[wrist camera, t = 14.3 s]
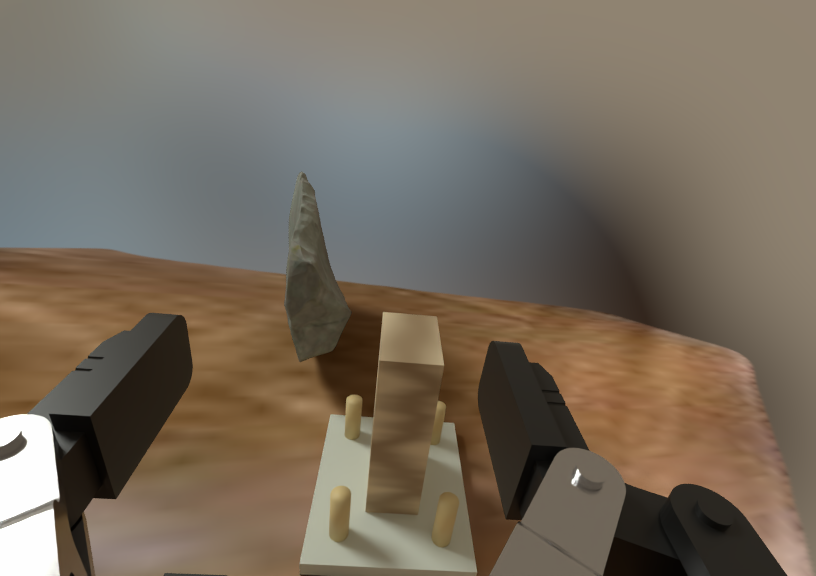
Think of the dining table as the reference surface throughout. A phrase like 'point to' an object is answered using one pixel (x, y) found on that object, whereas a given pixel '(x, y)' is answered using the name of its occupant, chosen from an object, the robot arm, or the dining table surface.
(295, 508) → the dining table surface
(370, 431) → the peg board
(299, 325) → the rock
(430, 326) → the tan wooden block
